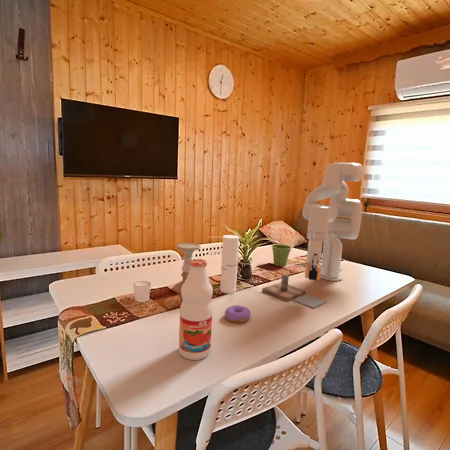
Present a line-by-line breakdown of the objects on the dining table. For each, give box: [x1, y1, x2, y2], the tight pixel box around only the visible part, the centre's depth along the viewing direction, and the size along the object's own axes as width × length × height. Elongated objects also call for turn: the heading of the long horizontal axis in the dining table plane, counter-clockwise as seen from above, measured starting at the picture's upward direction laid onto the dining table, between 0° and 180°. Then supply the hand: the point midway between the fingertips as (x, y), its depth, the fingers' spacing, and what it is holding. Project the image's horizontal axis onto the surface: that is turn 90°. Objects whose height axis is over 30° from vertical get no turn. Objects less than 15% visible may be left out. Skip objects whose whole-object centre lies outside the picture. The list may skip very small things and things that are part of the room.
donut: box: [224, 304, 252, 324], centre depth 118 cm, size 10×9×5 cm
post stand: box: [261, 273, 307, 302], centre depth 145 cm, size 14×14×8 cm
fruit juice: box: [178, 258, 214, 361], centre depth 93 cm, size 9×9×28 cm
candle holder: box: [173, 242, 201, 294], centre depth 142 cm, size 12×12×20 cm
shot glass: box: [132, 280, 152, 303], centre depth 129 cm, size 7×7×7 cm
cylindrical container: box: [219, 234, 240, 294], centre depth 143 cm, size 7×7×25 cm
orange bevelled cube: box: [304, 262, 322, 281], centre depth 134 cm, size 6×6×5 cm
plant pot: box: [271, 243, 293, 267], centre depth 189 cm, size 12×12×11 cm
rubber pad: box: [292, 293, 327, 309], centre depth 137 cm, size 10×10×1 cm
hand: (312, 276), depth 135 cm, fingers closed on orange bevelled cube, 6 cm apart
